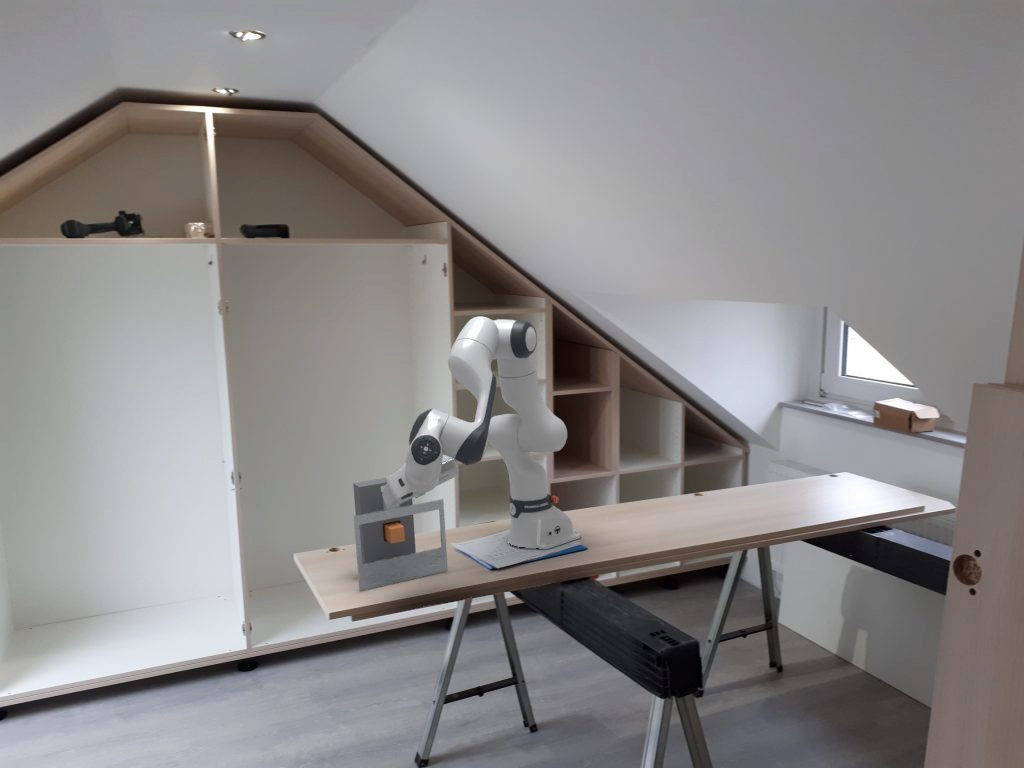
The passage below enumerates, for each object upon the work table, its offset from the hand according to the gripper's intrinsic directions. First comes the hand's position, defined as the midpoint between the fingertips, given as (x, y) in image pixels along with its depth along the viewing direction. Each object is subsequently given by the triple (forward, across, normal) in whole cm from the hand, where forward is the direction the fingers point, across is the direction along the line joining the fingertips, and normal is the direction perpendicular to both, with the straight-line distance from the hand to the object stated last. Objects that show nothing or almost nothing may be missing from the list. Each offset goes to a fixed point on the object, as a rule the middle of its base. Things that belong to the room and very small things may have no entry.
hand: (419, 493), depth 222 cm
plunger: (+17, +9, +3) cm, 20 cm away
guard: (+21, +11, +13) cm, 27 cm away
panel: (+26, +13, +8) cm, 30 cm away
